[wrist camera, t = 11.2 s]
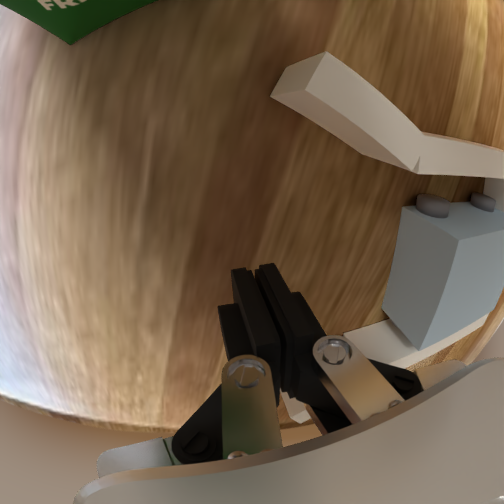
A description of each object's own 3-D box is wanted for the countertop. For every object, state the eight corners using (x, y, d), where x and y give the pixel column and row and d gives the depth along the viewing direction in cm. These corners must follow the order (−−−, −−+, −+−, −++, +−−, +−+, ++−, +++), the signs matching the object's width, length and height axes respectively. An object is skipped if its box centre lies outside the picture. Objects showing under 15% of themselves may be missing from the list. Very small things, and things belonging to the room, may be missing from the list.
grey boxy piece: (401, 193, 13) (462, 225, 10) (481, 191, 15) (526, 214, 11) (377, 314, 17) (414, 359, 13) (456, 286, 19) (490, 316, 15)
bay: (268, 66, 9) (302, 48, 6) (498, 118, 12) (534, 128, 9) (273, 386, 18) (288, 426, 15) (451, 322, 21) (472, 344, 18)
